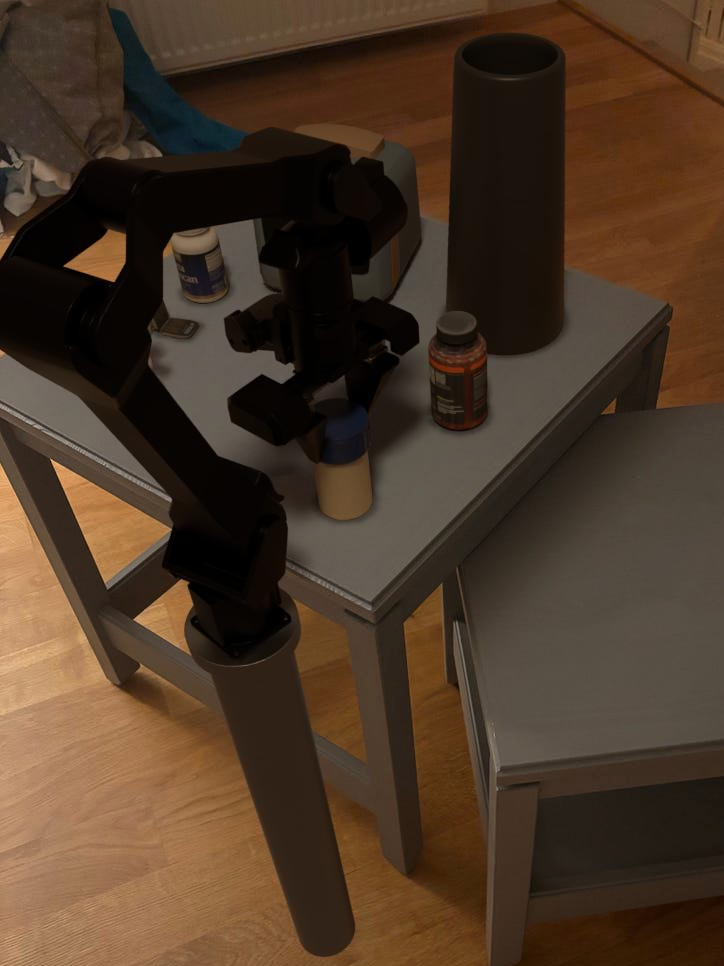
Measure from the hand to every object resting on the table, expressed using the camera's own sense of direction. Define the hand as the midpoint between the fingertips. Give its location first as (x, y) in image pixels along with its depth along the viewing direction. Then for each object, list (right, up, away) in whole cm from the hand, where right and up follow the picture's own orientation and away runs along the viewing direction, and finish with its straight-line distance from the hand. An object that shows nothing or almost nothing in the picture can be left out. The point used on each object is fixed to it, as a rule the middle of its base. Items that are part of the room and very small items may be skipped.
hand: (337, 443), depth 96 cm
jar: (0, -5, +5) cm, 7 cm away
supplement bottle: (+11, +6, +14) cm, 19 cm away
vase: (+16, +19, +25) cm, 35 cm away
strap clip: (-23, +18, +24) cm, 38 cm away
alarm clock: (-3, +28, +32) cm, 42 cm away
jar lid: (0, 0, 0) cm, 0 cm away
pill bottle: (-19, +23, +28) cm, 42 cm away
